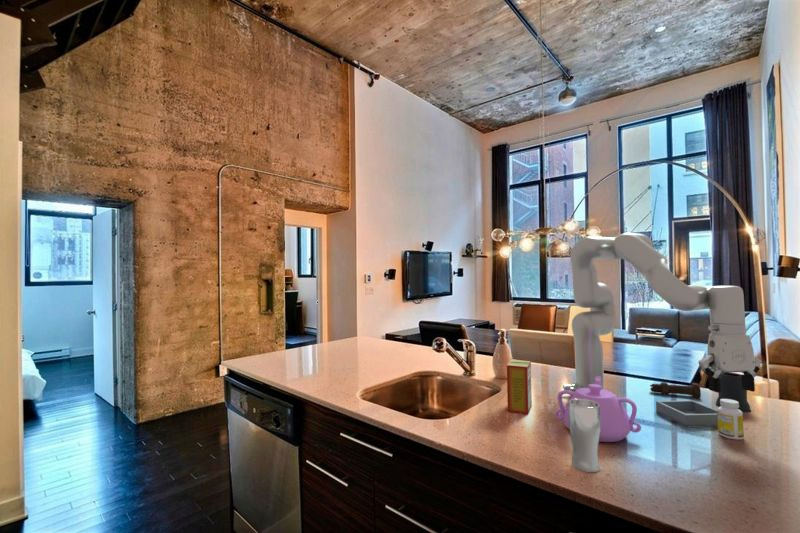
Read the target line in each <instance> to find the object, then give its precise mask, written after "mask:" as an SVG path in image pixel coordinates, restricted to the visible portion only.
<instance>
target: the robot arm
mask: <svg viewBox="0 0 800 533" xmlns="http://www.w3.org/2000/svg"><path fill="white" fill-rule="evenodd" d="M569 258H570V266H571V272H572V273H571V274H572V289H573V290H572V291H573V299H574V302H575V304H576V305H577V307H580V308H583V309H584V308H585V309H589V311H582V312H579V313H577V314H576V315H575V316H574V317H573V318H572V320H571V330H572V335H573V340H574V341H573V342H574V355H575V356H574V360H575V361H574V362H575V363H574V365H575V366H574V367H575V381H573V382H572V383H571V384H563V385H562V389H563V390H570V391H572V392H575V391H576V390H577V389H580V388H589V386H588V385H590V384H594V382H595V378H596V377H597V376H600V377H601V386H602V389H603V390H605V379H604V378H605V375H604V348H603V344H602V343H603V342H602V341H601V338H600V337H601V336H606V335H608V334H611V333H612V332H613V330H614V329H615V326H616V313H615V312H616V311H615V310H616V309H615V299H614V298H615V297H614V292H613V291H612V289H611V288H610V287H609V285H607V284H605V283H602V282H598V271H597V267H596V266H595V264H594V260H605V261H607V260H624V261H625V262H627V263H628V264H629V265H630V266H631V267H632V268H634V269H636V271H637V272H639V273H640V275H642V276H643V277H644V278H645V280H646V282H647V284H648V285H649V286H650V288H651V290H652V291H653V292H654V293H655V294H657V295H658V296H659V297H660V298H661V299H663V301H665V302H666V303H667V304H668V305H669V306H671V307H673V308H674V309H676V310H678V311H682V312H692V311H702V310H709V322H710V325H709V326H707V330H709V331H710V333H709V335H708V340H707V349H706V350H707V354H706V355H707V356H705V357H703V358H702V359H700V360H698V362H697V363H698V365H699V367H700V368H701V371H702V372H703V373H704V374H705V376H707V378H708V389H709V391H712V392H715V393H717V394H719V393H720V392H721V384H720V378H719V376H720V375H721V373H722V372H730V373H737V372H742V374H741V375H742V376H741V379H742V388H743V389H745V390H747V392H748V391H749V392H756V386H755V377H757V373H758V372H759V371H760V366H761V365H762V359H759V357H755V352H754V347H753V343H752V341H751V340H752V339H751V337H750V335H749V334H747V329H746V326H747V324H746V317H745V316H746V314H745V310H746V309H745V297H744V290H743V288H742V287H740V286H737V285H714V286H712V285H702V284H701V285H699V284H689V285H688V284H686V283H685V282H684V281H682V280H681V279H680V278H678V277H677V276H676V275H675V274H673V273H672V272H671V270H670V269H669V268H668V265H667V264H668V258H667V257H666V256H665V255H663V254H662V253H661V252H660V251H658V250H656V249H655V248H654V244H653V241H652V239H651V238H650V237H649V236H647V235H645V234H643V233H635V232H625V233H620V234H619V235H618V236H614V237H607V236H603V237H602V236H595V235H593V236H586V237H583V238H581V239H579V240H578V241H576V242H575V243H574V244H573V246H572V248H571V251H570V256H569Z"/></svg>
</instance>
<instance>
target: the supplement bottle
mask: <svg viewBox="0 0 800 533" xmlns="http://www.w3.org/2000/svg"><path fill="white" fill-rule="evenodd" d="M720 405H721V407H717V409H716V410H717V414H718V426H717V432H718V434H719V435H720V436H722V437H724V438H726V439H731V440H739V441H741V440H743V439H744V438H745V437H744V435H745V434H744V433H745V431H744V416H743V413H744V412H742V411H741V410H739V409H738V408H739V402H738V401H735V400H731V399H720Z"/></svg>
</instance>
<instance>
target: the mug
mask: <svg viewBox="0 0 800 533" xmlns="http://www.w3.org/2000/svg"><path fill="white" fill-rule="evenodd" d="M742 375H743V374H741V373H737V372H725V371H722V372H721V373H720V375H719V376H718V378H720V384H721V392H720V393H718V397H717V398H716V401H715V406H716V407H717V406H718V407H721V405H720V399H731V400H735V401H738V402H739V408H738V409H739V410H741V411H742V413H750V412H752V410H751V405H750V404H749V401H748V390H745V389H743V388H742V379H741V376H742ZM718 407H717V408H718ZM749 411H750V412H749Z"/></svg>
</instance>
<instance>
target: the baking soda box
mask: <svg viewBox="0 0 800 533" xmlns="http://www.w3.org/2000/svg"><path fill="white" fill-rule="evenodd" d="M506 384H507V385H506V386H507V387H506V390H507V392H506V394H507V396H506V397H507V399H506V400H507V401H506V402H507V413H510V414H518V415H524V416H528V415H529V414H530V411H531V409H532V406H533V405H532V404H533V403H532V400H533V399H532V397H533V396H532V361H531V360H523V359H519V360H518V359H511V360H509V362H508V363H507V364H506Z"/></svg>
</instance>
